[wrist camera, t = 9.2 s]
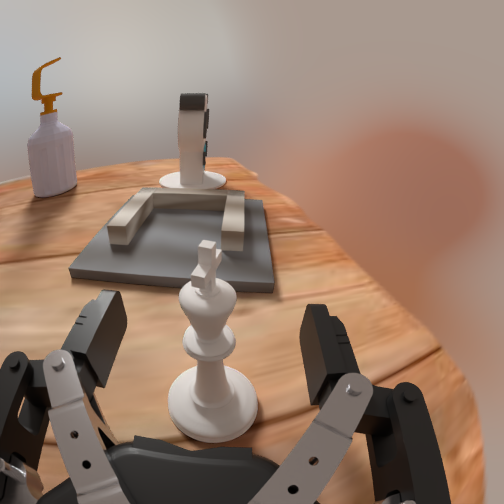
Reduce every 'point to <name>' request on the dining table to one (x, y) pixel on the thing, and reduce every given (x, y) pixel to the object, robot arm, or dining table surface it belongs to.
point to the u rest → (180, 240)
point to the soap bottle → (50, 147)
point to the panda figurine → (193, 146)
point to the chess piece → (210, 360)
